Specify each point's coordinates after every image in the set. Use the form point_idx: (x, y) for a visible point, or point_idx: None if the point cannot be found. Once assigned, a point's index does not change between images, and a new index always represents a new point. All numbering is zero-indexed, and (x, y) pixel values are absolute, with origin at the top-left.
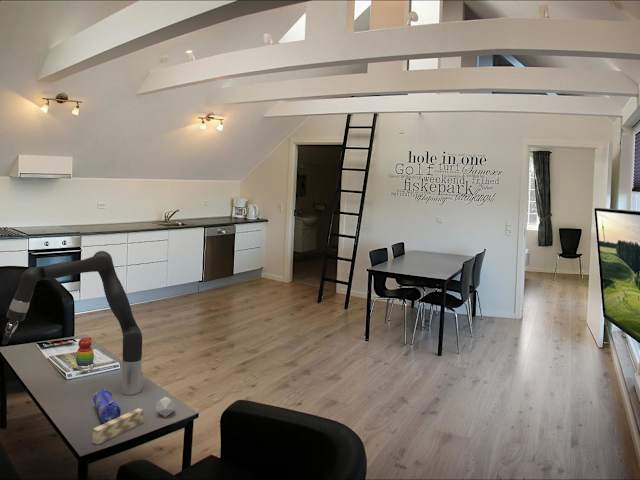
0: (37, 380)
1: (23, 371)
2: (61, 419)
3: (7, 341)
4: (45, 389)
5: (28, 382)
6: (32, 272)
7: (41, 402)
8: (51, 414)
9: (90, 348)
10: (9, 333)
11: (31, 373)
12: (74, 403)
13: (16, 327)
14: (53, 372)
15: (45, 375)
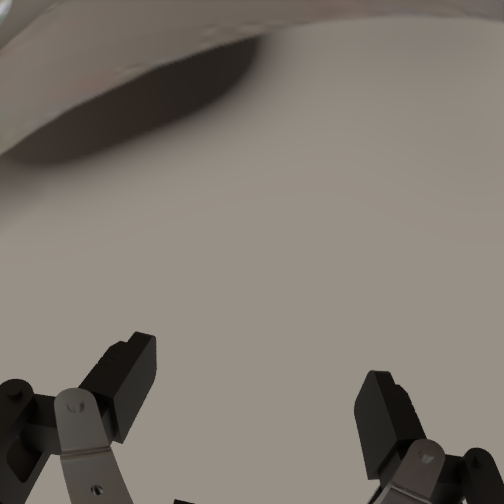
0: (89, 58)
1: (18, 126)
2: (496, 3)
3: (398, 399)
4: (188, 9)
5: (100, 85)
6: None
7: (331, 19)
8: (454, 13)
9: None
10: (498, 496)
11: (32, 96)
12: None
13: (93, 479)
14: (35, 27)
15: (52, 44)
